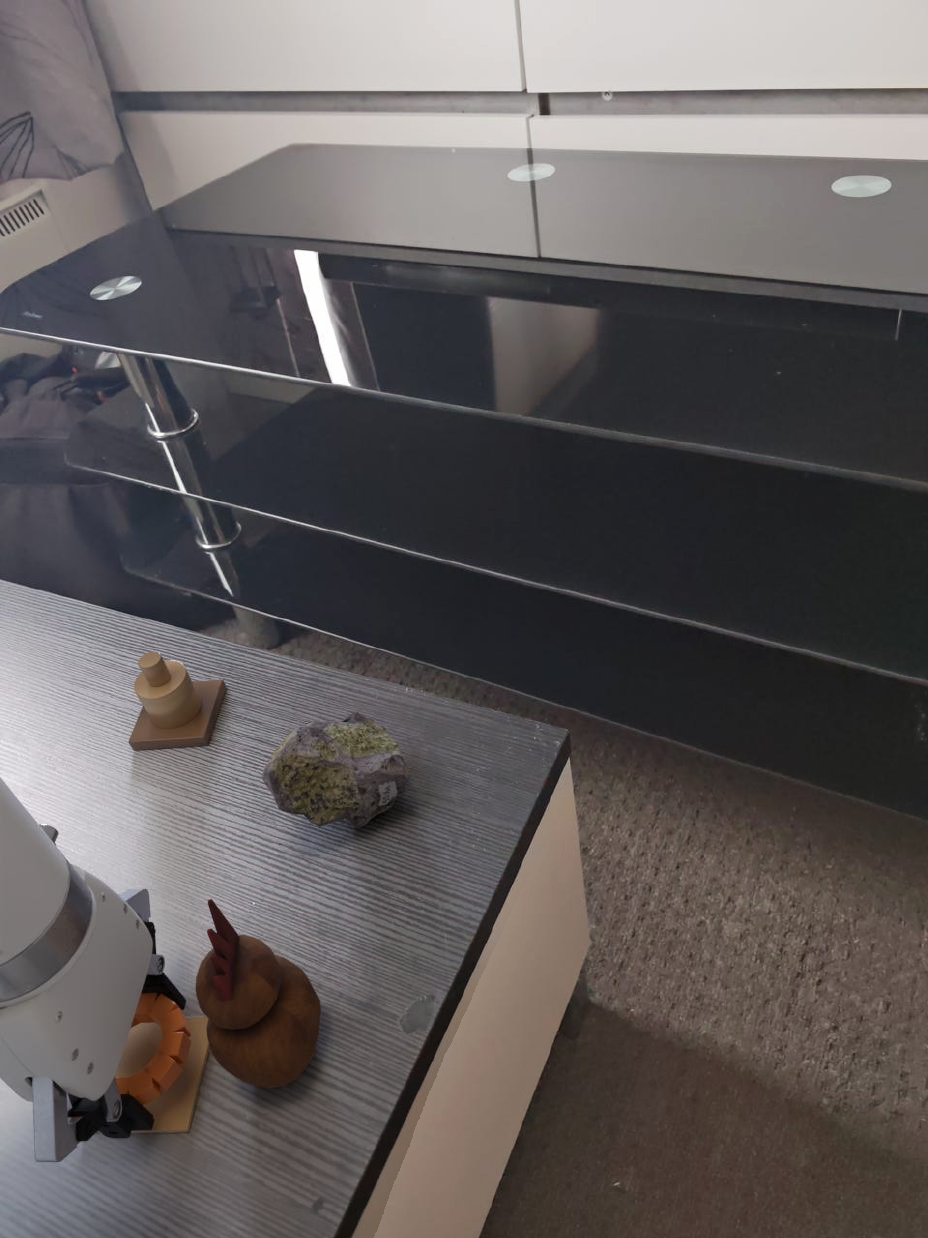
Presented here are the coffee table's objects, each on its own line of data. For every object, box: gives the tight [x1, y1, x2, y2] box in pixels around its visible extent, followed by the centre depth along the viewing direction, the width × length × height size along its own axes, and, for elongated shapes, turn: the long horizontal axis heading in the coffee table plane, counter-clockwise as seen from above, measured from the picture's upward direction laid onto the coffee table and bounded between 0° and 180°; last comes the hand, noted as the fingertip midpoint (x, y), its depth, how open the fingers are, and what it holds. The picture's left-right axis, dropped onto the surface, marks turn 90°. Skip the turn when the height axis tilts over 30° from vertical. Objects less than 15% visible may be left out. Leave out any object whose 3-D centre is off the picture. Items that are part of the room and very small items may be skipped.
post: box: [127, 650, 228, 751], centre depth 80 cm, size 7×7×8 cm
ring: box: [115, 993, 191, 1105], centre depth 57 cm, size 7×7×1 cm
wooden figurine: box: [195, 898, 322, 1089], centre depth 54 cm, size 7×6×15 cm
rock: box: [260, 711, 410, 829], centre depth 69 cm, size 11×10×10 cm
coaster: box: [95, 1016, 211, 1134], centre depth 59 cm, size 7×7×1 cm
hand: (147, 1063), depth 59 cm, fingers closed on ring, 6 cm apart
